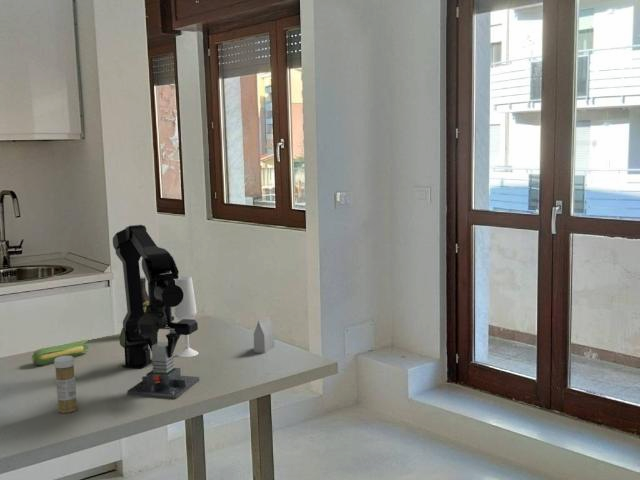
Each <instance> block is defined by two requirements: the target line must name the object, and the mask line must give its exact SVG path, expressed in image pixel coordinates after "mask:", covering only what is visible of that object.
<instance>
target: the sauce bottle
mask: <svg viewBox="0 0 640 480" xmlns="http://www.w3.org/2000/svg"><path fill="white" fill-rule="evenodd" d="M140 279H141V289H142V299H143V309H144V312H145V313H146V307H147V305H149V297H148V292H147V291H148V290H147V288H146V282H147V278H146V276H140Z"/></svg>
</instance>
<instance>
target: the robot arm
mask: <svg viewBox="0 0 640 480" xmlns="http://www.w3.org/2000/svg"><path fill="white" fill-rule="evenodd" d="M112 246H113V249H114V250H115V255H116V256H117V257H118V258H119V260H120V261H121V263H122V270H123V271H122V272H123V280H124V282H123V283H124V290H125V302H126V310H127V312H126V314H125V317H124V318H123V320H122V328H121V331H120V335H119V338H118V339H119V345H120V346H121V347H122V348H123V349H124V364H122V367H123V368H131V369H132V368H133V369H134V368H135V369H143V368H145V367H147V366H148V365H149V364H151V363H153V362H152V357H151V352H152V346H153V345H154V344H156V343H158V342H159V341H158V333H159V331H160V330H169V333H167V334H166V335H165V337H166V339H167V342H168V356H169V358H171V357H172V355H173V356H174V352H175V349H176V347H177V344H178V341H179V339H180V337H181V336H185V335H189V336H190V335H191V334H193V333H194V332H196V331H198V329H199V326H198V322H197V320H196V319H193V320H192V319H183V320H181V321H180V320H178V321H177V322H176V321H175V316H174V315H173V316H172V308H175V306H177V305H179V304H180V303H181V302H182V300H183V295H184V294H183V291H182V289H181V288H180V287H179V286H177V285H176V279H178V278H179V277H180V276H179V272H180V271H179V269H178V266H177V264H176V261H175V259H174V257H173V256H172V255H171V253H170V252H169V251H168V250H167V249H165V248H162V247H159V246H158V245H157V243H155V241H154V240H153V239H152V237H151V236H150V234H149V233H148V232H147V227H146V225H143V224H135V225H129V226H126V227H125V228H124V229H122V230H119V231H118V232H116V233H115V234H114V236H113V237H112ZM141 258H142V259H141ZM140 260H141V269H142V271H143V274H144V277H145V278H146V282H147V291H148V292H147V294H148V297H149V305H147V307H146V313H145V312H144V309H143V299H142V289H141V279H140V277H141V271H140V270H141V269H140ZM173 321H175V322H173Z"/></svg>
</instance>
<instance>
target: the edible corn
mask: <svg viewBox="0 0 640 480" xmlns="http://www.w3.org/2000/svg"><path fill="white" fill-rule="evenodd" d="M88 342H89V339H84V340H79V341H75V342H70V343H66V344H61V345H55V346H49V347H48V346H47V347H43V348H42V347H41V348H39V349H37V350H36V351H35V350H34V352H33V354H32V356H31V361H32V362H33V363H34V364H35V365H36V366H37V365H38V366H41V367H42V366H47V365H50V364H54V360H55V358H57V357H60V356H72V357H74V358H75V357H76V358H77V357H80V356H83V355H86V353H87V352H88V349H89V348H90V346H89V345H87V344H85V343H88ZM84 344H85V345H84Z"/></svg>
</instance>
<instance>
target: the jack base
mask: <svg viewBox="0 0 640 480" xmlns="http://www.w3.org/2000/svg"><path fill="white" fill-rule="evenodd" d="M198 382H200V376H192V375H191V376H190V375H189V376H188V375H181V368H180V367H174V371H172V372H171V373H170V374H168V375H163V374H153V369H152V370H151V371H149V372H148V373H146V375H143V376H141V381H140V382H138V383H136V385H133V386H132V387H130V388H129V389H127V393H126V394H127V395H129V396H139V395H140V396H141V395H142V396H141V397H151V396H152V398H153V397H154V398H163V397H164V398H165V397H166V399H178V398H179V397H181V396H182V395H183V394H184V393H185V392H187V391H188V390H189V389H190V388H192V387H193V386H194V385H196V384H198Z"/></svg>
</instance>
